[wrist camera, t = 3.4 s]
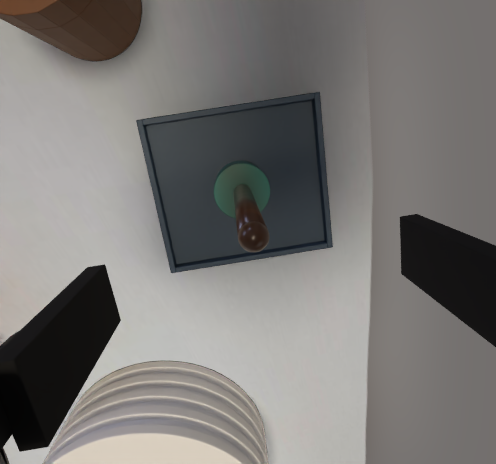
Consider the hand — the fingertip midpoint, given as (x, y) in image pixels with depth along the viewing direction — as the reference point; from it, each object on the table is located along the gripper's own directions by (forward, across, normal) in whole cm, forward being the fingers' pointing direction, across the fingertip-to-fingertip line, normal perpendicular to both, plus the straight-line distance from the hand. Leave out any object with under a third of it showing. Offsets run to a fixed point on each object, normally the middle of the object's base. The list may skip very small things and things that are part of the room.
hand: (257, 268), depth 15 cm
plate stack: (+26, -16, -35) cm, 46 cm away
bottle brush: (+25, 0, 0) cm, 25 cm away
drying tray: (+25, 0, 0) cm, 25 cm away
